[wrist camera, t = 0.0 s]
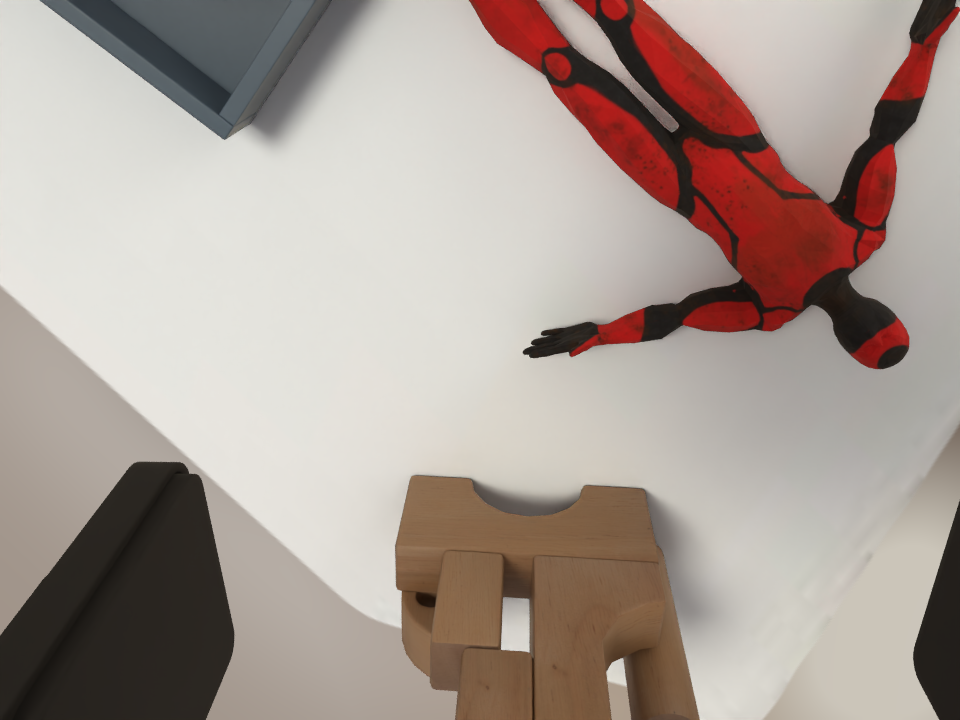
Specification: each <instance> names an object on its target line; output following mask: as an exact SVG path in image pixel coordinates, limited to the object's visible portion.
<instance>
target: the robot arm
mask: <svg viewBox="0 0 960 720" xmlns="http://www.w3.org/2000/svg"><path fill="white" fill-rule="evenodd" d="M233 647H234V628H233V623H232V618H231V614H230V609H229V604H228V600H227V595H226V590H225V586H224V581H223V576H222V572H221V567H220V562H219V557H218V553H217V548H216V544H215V539H214V534H213V530H212V525H211V520H210V516H209V511H208V506H207V501H206V497H205V492H204V487H203V483H202V480H201V478H200V477H199V475H197V474H189V471H188V469H187V468H186V466H185V465H184V464H183V463H180V462H136V463H134V464H133V465H132V466H131V467H129V469H128V470H127V471H126V473H125V474H124V475H123V477H122V478H121V479H120V480H119V482H118V483H117V484H116V486H115V487H114V489H113V490H112V491H111V492H110V494H109V495H108V496H107V498H106V499H105V500H104V501H103V503H102V504H101V506H100V507H99V508H98V509H97V511H96V512H95V513H94V515H93V516H92V517H91V519H90V520H89V521H88V523H87V524H86V525H85V527H84V528H83V529H82V530H81V532H80V533H79V534H78V536H77V537H76V538H75V540H74V541H73V543H72V544H71V545H70V546H69V548H68V549H67V550H66V552H65V553H64V554H63V556H62V557H61V558H60V559H59V561H58V562H57V563H56V565H55V566H54V567H53V569H52V570H51V571H50V573H49V574H48V575H47V576H46V577H45V578H44V579H43V580H42V582H41V583H40V584H39V586H38V587H37V588H36V589H35V591H34V592H33V593H32V595H31V596H30V597H29V599H28V600H27V601H26V603H25V604H24V605H23V607H22V608H21V609H20V611H19V612H18V613H17V615H16V616H15V617H14V618H13V620H12V621H11V622H10V624H9V625H8V626H7V628H6V629H5V630H4V631H3V633H2V634H1V635H0V720H206V718H207V715H208V713H209V710H210V708H211V706H212V703H213V701H214V699H215V696H216V694H217V691H218V689H219V687H220V684H221V682H222V679H223V677H224V674H225V672H226V670H227V667H228V665H229V662H230V660H231V656H232V653H233ZM913 660H914V668H915V671H916V675H917V678H918V680H919V682H920V684H921V686H922V688H923V690H924V692H925V693H926V695H927V697H928V699H929V701H930V703H931V705H932V706H933V709H934V710H935V712H936V714H937V716H938V718H939V720H960V502H959V505H958V508H957V511H956V514H955V518H954V521H953V524H952V527H951V530H950V534H949V537H948V540H947V544H946V547H945V550H944V553H943V556H942V560H941V563H940V566H939V569H938V572H937V576H936V579H935V582H934V585H933V588H932V592H931V595H930V598H929V601H928V605H927V608H926V611H925V614H924V617H923V621H922V624H921V627H920V631H919V634H918V637H917V640H916V643H915V647H914V652H913Z"/></svg>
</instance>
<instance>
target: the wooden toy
mask: <svg viewBox="0 0 960 720" xmlns="http://www.w3.org/2000/svg"><path fill="white" fill-rule="evenodd" d="M395 558H396V587H397V589H398V590H401V591H402V641H403V644H404V648H405V651H406V654H407V655H408V657H409V658H410V660H411V661H412V662H413V664H414V665H415V666H416V667H417V668H418V669H420V670H421V671H422V672H423V673H425V674H426V675H427V676H429V677H430V683H431V686H432V688H433V689H436V690H448V691H458V695H457V706H456V716H455V720H612V719H611V712H610V711H611V710H610V702H609V693H608V684H607V675H606V671H607V670H608V668H609V666H610V665H611V663H612V662H614V661H616V660H618V659H620V658H623V659H624V667H625V674H626V682H627V689H628V697H629V705H630V712H631V720H700V719H699V715H698V710H697V705H696V701H695V696H694V692H693V687H692V683H691V678H690V674H689V669H688V664H687V660H686V655H685V651H684V646H683V642H682V637H681V633H680V628H679V624H678V619H677V614H676V610H675V605H674V601H673V596H672V592H671V587H670V583H669V578H668V573H667V569H666V564H665V560H664V555H663V553H662V551H661V549H660V548H659V547H658V546H657V545H656V542H655V538H654V533H653V528H652V523H651V519H650V514H649V509H648V504H647V500H646V495H645V491H644V490H643V489H636V488H619V487H602V486H584V487H583V488H582V490H581V495H580V499H579V500H578V501H576V502H575V503H574V504H573V505H572V506H571V507H570V508H568V509H566V510H563V511H560V512H558V513H555V514H552V515H542V516H522V515H517V514H511V513H505V512H502V511H500V510H498V509H496V508H494V507H492V506H490V505H488V504H486V503H485V502H484V501H483V500H482V499H481V498H480V497H479V496H478V495H477V494H476V493H475V492H474V487H473V483H472V481H471V479H467V478H450V477H432V476H412V477H411V478H410V482H409V486H408V491H407V495H406V500H405V504H404V509H403V513H402V518H401V522H400V527H399V531H398V536H397V540H396V545H395ZM503 597H511V598H527V599H530V653H528V652H523V651H508V650H501V630H502V605H503Z"/></svg>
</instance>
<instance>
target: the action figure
mask: <svg viewBox="0 0 960 720" xmlns="http://www.w3.org/2000/svg"><path fill="white" fill-rule="evenodd" d="M469 1H470V3H471V4H472V6H473V8H474V9H475V11H476V13H477V15H478V16H479V18H480V20H481V22H482V23H483V25H484V27H485V29H486V30H487V31H488V32H489V34H490V35H491V36H492V38H493V39H494V40H495V41H496V43H497V44H499V45H501V46H502V47H504V48H505V49H507V50H509V51H510V52H512V53H513V54H515V55H516V56H518V57H519V58H521V59H522V60H524V61H525V62H527V63H528V64H530V65H531V66H533V67H534V68H536V69H537V70H538V71H540V72H541V73H543V74H544V75H545V76H546V77H547V79H548V81H549V83H550V85H551V87H552V89H553V91H554V93H555V95H556V96H557V97H558V98H559V99H560V100H561V101H562V103H563V104H564V105H565V106H566V107H567V108H568V109H569V111H570V112H571V113H572V114H573V115H574V116H575V117H576V118H577V119H578V120H579V121H580V122H581V123H582V124H583V126H584V127H585V128H586V129H587V130H588V132H589V133H590V135H591V136H592V137H593V139H594V140H595V141H596V143H597V144H598V145H599V146H600V147H601V148H602V149H603V150H604V151H605V152H606V153H607V154H608V156H609V157H610V158H611V159H612V160H613V161H614V162H615V163H616V164H617V165H618V166H619V167H620V168H621V169H622V170H623V171H624V172H625V173H626V174H627V175H629V176H630V177H631V178H632V179H633V180H634V181H635V182H636V183H637V184H638V185H640V186H641V187H642V188H643V189H644V190H645V191H646V192H647V193H648V194H650V195H651V196H652V197H653V198H655V199H656V200H657V201H659V202H660V203H662V204H663V205H665V206H667V207H669V208H671V209H673V210H675V211H676V212H678V213H679V214H681V215H682V216H684V217H685V218H687V219H688V220H689V222H691V223H692V224H693V225H694V226H695V227H696V228H697V229H699V230H701V231H703V232H705V233H707V234H708V235H709V236H710V237H712V238H713V239H714V240H715V242H716V243H717V244H718V245H719V246H720V248H721V249H722V251H723V253H724V255H725V256H726V258H727V260H728V261H729V263H730V264H731V265H732V266H733V267H734V268H735V269H736V270H737V271H738V272H739V273H740V274H741V275H742V278H741V280H740V281H739V282H738V283H735V284H732V285H730V286H724V287H717V288H710V289H707V290H703V291H700V292H697V293H693V294H690V295H689V296H688V297H686V298H685V299H684V300H682V301H681V302H680V303H678V304H676V305H675V304H672V303H670V304H663V305H651V306H648V307H646V308H643V309H640V310H638V311H635V312H632V313H630V314H627V315H625V316H623V317H621V318H619V319H617V320H615V321H613V322H611V323H609V324H605V325H597V324H594V323H592V322H585V323H582V324H578V325H575V326H571V327H566V328H556V329H552V330H545V331H542V332H541V335H543V336H548V337H544V338H538V339H535V340H533V341H532V342H531V344H532V345H534V346H531V347H529V348H526V349H525V350H524V351H523V354H524V355H529V357H530V358H539V357H547V356H550V355H554V354H559V353H564V352H569V355H570V356H571V357H573V356H576V355H578V354H580V353H582V352H583V351H587V350H588V349H590V348H591V347H593V346H598V345H604V344H621V343H637V342H644V341H651V340H658V339H662V338H664V337H665V336H667V335H668V334H670V333H671V332H673V331H674V330H676V329H677V328H679V327H680V326H683V325H685V326H689V327H693V328H696V329H700V330H704V331H717V332H737V331H746V330H753V329H757V330H761V331H774V330H777V329H779V328H781V327H782V326H783V324H784V323H786V322H789V321H791V320H793V319H794V318H795V317H797V316H798V315H799V314H800V313H802V312H803V311H804V310H805V309H807V308H808V307H809V306H810V305H817V306H819V307H820V308H822V309H823V310H825V311H826V312H827V313H828V315H829V316H830V317H831V319H832V321H833V330H834V333H835V335H836V337H837V339H838V341H839V342H840V344H841V345H842V346H843V348H844V349H845V350H846V351H847V352H848V353H849V354H850V355H851V356H852V357H853V358H855V359H856V360H857V361H858V362H860V363H861V364H863V365H865V366H867V367H868V368H873V369H885V368H889V367H891V366H894V365H895V364H897V363H899V362H900V361H901V360H902V359H903V358H904V356H905V355H906V353H907V352H908V349H909V335H908V333H907V330H906V328H905V327H904V325H903V324H902V322H901V321H900V320H899V319H898V318H897V316H896V315H895V314H894V313H893V312H892V311H891V310H890V309H889V308H888V307H886V306H885V305H883V304H882V303H880V302H879V301H877V300H874V299H871V298H866V297H863V296H861V295H860V294H859V293H857V292H856V291H855V290H854V289H853V287H852V286H851V284H850V282H849V280H848V275H849V274H850V273H851V272H853V271H854V270H855V269H856V268H857V267H859V266H860V265H861V264H862V263H864V262H865V261H866V260H867V259H869V257H870V256H871V254H872V253H873V251H875V250H877V249H879V248H880V247H881V245H882V244H883V242H884V241H885V236H886V220H887V217H888V215H889V211H890V208H891V205H892V202H893V198H894V193H895V182H896V172H897V167H896V160H895V153H894V146H895V143H896V142H897V141H898V140H899V139H900V137H901V136H902V135H903V134H904V133H905V132H906V131H907V130H908V129H909V128H910V127H911V126H912V125H913V124H914V123H915V122H916V119H917V116H918V113H919V110H920V108H921V105H922V102H923V99H924V96H925V93H926V90H927V87H928V82H929V78H930V74H931V69H932V65H933V60H934V56H935V53H936V50H937V47H938V44H939V41H940V38H941V36H942V35H943V34H944V33H945V32H946V31H947V30H948V28H949V26H950V24H951V23H952V22H953V20H954V19H955V18H956V16H957V15H958V13H959V11H960V8H959V7H955V3H956V0H923V2H922V4H921V6H920V9H919V11H918V13H917V15H916V17H915V20H914V22H913V24H912V26H911V29H910V33H909V34H910V38H911V49H910V52H909V55H908V57H907V58H906V60H905V61H904V62H903V64H902V65H901V67H900V68H899V69H898V71H897V72H896V74H895V75H894V76H893V78H892V80H891V81H890V83H889V85H888V87H887V88H886V90H885V92H884V93H883V95H882V97H881V99H880V100H879V102H878V104H877V106H876V107H875V114H874V118H873V121H872V124H871V127H870V137H869V138H868V139H867V140H866V141H865V142H864V143H863V144H862V145H861V146H860V147H859V148H858V149H857V150H856V151H855V153H854V155H853V157H852V160H851V162H850V164H849V166H848V168H847V170H846V172H845V176H844V179H843V182H842V186H841V189H840V192H839V194H838V195H837V197H836V199H835V200H834V201H833V202H831V203H829V204H827V203H824V202H823V201H822V200H821V198H820V197H819V196H818V195H817V194H816V193H814V192H813V191H812V190H811V189H810V188H808V187H807V186H806V185H804V184H802V183H800V182H799V181H797V180H796V179H795V178H793V177H792V176H791V175H790V174H789V173H788V172H787V171H786V170H785V168H784V167H783V165H782V164H781V162H780V159H779V156H778V154H777V153H776V152H775V150H774V149H773V148H772V147H771V146H770V145H769V144H768V143H767V142H766V140H765V138H764V136H763V135H762V133H761V131H760V129H759V127H758V125H757V123H756V121H755V118H754V116H753V115H752V114H751V112H750V111H749V109H748V108H747V106H746V105H745V104H744V103H743V101H742V100H741V99H740V98H739V97H738V96H737V94H736V93H735V92H734V91H733V90H732V88H731V87H730V86H729V85H728V84H727V83H726V81H725V80H724V79H723V78H722V77H721V76H720V74H719V73H718V72H717V71H716V70H715V69H714V68H713V67H712V66H711V65H710V64H709V63H708V62H707V61H706V60H705V59H704V58H703V57H702V56H701V55H700V54H699V53H698V52H697V51H696V50H695V49H694V48H693V47H692V46H691V45H689V44H688V43H687V42H686V41H684V40H683V39H682V38H681V37H680V36H679V35H678V34H677V33H676V32H675V31H674V30H673V29H672V28H671V27H670V26H669V25H668V24H667V23H666V22H665V21H664V20H663V19H662V18H661V17H660V16H659V15H658V14H657V13H656V12H655V11H654V10H653V9H652V8H651V7H649V6H648V5H647V4H646V3H645V2H644V1H643V0H573V1H574V2H576V3H577V4H578V5H579V6H581V7H582V8H583V9H584V10H585V11H586V12H587V13H588V14H589V15H590V16H591V17H592V18H593V19H594V20H595V21H596V22H597V23H598V24H599V26H600V27H601V29H602V30H603V31H604V33H605V34H606V36H607V37H608V38H609V40H610V42H611V44H612V46H613V47H614V49H615V51H616V53H617V55H618V57H619V59H620V60H621V62H622V63H623V65H624V66H625V67H626V69H627V70H628V71H629V73H630V74H631V75H632V77H633V78H634V79H635V80H636V81H637V82H638V83H639V84H640V85H641V86H642V87H643V88H644V90H645V91H646V92H647V93H649V94H650V95H651V96H652V97H653V98H654V99H655V100H656V101H657V102H658V103H659V104H660V105H661V106H662V107H663V108H664V109H665V110H666V111H667V112H668V113H669V114H670V115H671V116H672V117H673V118H674V119H675V120H676V121H677V123H678V124H679V128H678V129H677V130H676V131H675V132H673V133H671V132H670V131H668V130H667V129H666V128H664V127H663V126H662V125H661V124H660V123H659V122H658V121H657V119H656V118H655V117H654V116H653V115H652V114H651V113H650V112H649V111H648V110H647V109H646V108H645V106H644V105H643V104H642V103H641V102H640V101H639V100H638V99H637V98H636V97H635V96H634V95H633V94H632V93H631V92H630V91H629V90H628V89H627V88H626V87H625V86H624V85H623V84H622V83H621V82H620V81H619V80H617V79H616V78H615V77H614V76H613V75H611V74H610V73H609V72H607V71H606V70H604V69H603V68H601V67H599V66H598V65H596V64H595V63H593V62H591V61H590V60H588V59H587V58H585V57H584V56H583V55H582V54H580V53H579V52H578V51H577V50H575V49H574V48H573V47H572V46H571V45H570V44H569V42H568V41H567V40H566V39H565V38H564V36H563V35H562V34H561V33H560V31H559V30H558V29H557V28H556V26H555V25H554V24H553V22H552V21H551V20H550V18H549V17H548V16H547V15H546V13H545V12H544V10H543V9H542V8H541V6H540V5H539V3H538V2H537V0H469ZM549 335H552V336H549Z"/></svg>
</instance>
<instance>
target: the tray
mask: <svg viewBox="0 0 960 720" xmlns="http://www.w3.org/2000/svg"><path fill="white" fill-rule="evenodd" d="M40 1H41V2H43V3H44V4H45V5H47V6H48V7H49V8H51V9H52V10H53V11H55V12H56V13H57V14H58V15H60V16H61V17H62V18H64V19H65V20H66V21H68V22H69V23H70V24H72V25H73V26H74V27H76V28H77V29H78V30H80V31H81V32H82V33H84V34H85V35H86V36H88V37H89V38H90V39H92V40H93V41H94V42H95V43H97V44H98V45H99V46H101V47H102V48H103V49H105V50H106V51H107V52H109V53H110V54H111V55H113V56H114V57H115V58H117V59H118V60H119V61H121V62H122V63H123V64H125V65H126V66H127V67H129V68H130V69H131V70H132V71H134V72H135V73H136V74H138V75H139V76H140V77H142V78H143V79H144V80H146V81H147V82H148V83H150V84H151V85H152V86H154V87H155V88H156V89H158V90H159V91H160V92H162V93H163V94H164V95H166V96H167V97H168V98H170V99H171V100H172V101H173V102H175V103H176V104H177V105H179V106H180V107H181V108H183V109H184V110H185V111H187V112H188V113H189V114H191V115H192V116H193V117H195V118H196V119H197V120H199V121H200V122H201V123H203V124H204V125H205V126H207V127H208V128H209V129H210V130H212V131H213V132H214V133H216V134H217V135H218V136H220V137H221V138H222V139H224V140H225V139H227V138H229V137H230V136H232V135H233V134H235V133H236V132H238V131H239V130H241V129H242V128H244V127H245V126H247V125H249V124H250V123H251V122H252V120H253V119H254V117H255V116H256V114H257V113H258V111H259V110H260V108H261V107H262V105H263V104H264V102H265V101H266V99H267V98H268V96H269V95H270V93H271V92H272V90H273V89H274V87H275V86H276V84H277V83H278V81H279V79H280V78H281V76H282V75H283V73H284V72H285V70H286V69H287V67H288V66H289V64H290V63H291V61H292V60H293V58H294V57H295V55H296V54H297V52H298V51H299V49H300V48H301V46H302V45H303V43H304V42H305V40H306V39H307V37H308V36H309V34H310V33H311V31H312V29H313V28H314V26H315V25H316V23H317V22H318V20H319V19H320V17H321V16H322V14H323V13H324V11H325V10H326V8H327V7H328V5H329V4H330V2H331V1H332V0H40Z"/></svg>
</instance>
